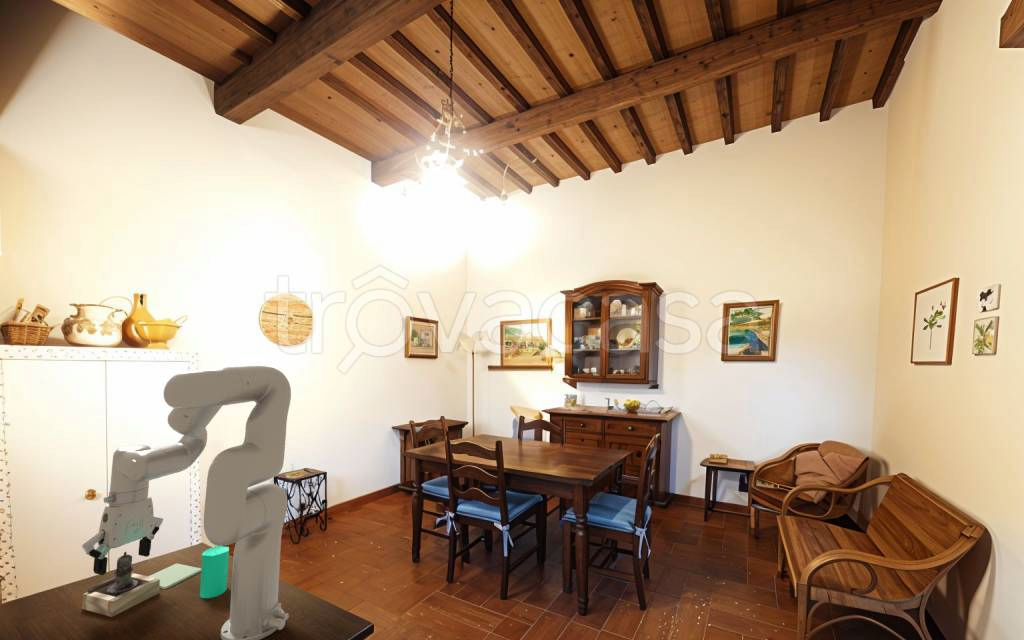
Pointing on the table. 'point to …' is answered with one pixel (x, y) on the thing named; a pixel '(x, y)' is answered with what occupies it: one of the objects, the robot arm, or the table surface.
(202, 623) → the table surface
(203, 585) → the candle
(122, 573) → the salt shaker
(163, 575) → the mat
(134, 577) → the holder
